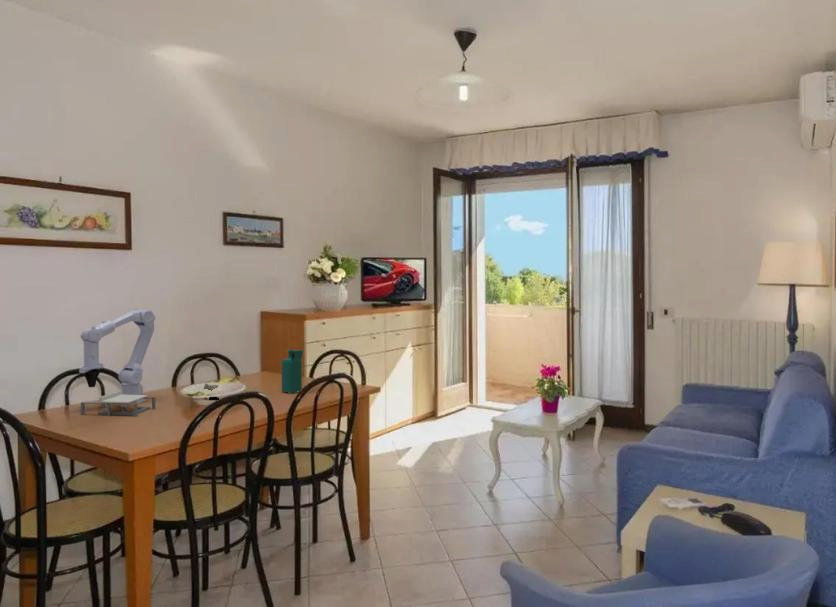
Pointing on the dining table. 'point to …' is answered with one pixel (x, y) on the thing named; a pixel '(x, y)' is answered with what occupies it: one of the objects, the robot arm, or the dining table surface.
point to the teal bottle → (292, 371)
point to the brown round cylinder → (131, 406)
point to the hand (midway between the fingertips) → (91, 387)
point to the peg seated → (116, 407)
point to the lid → (120, 398)
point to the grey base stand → (120, 412)
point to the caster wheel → (210, 387)
